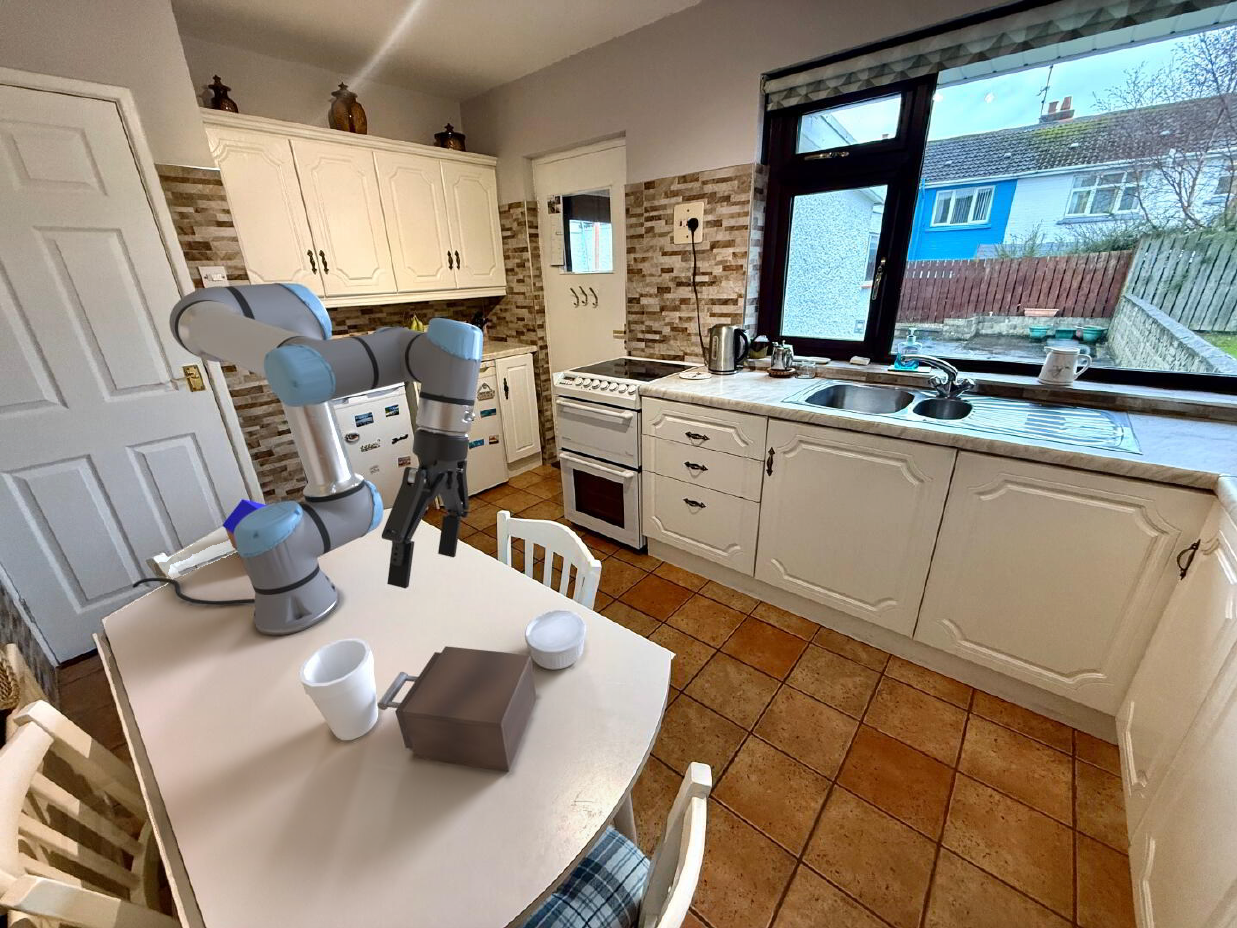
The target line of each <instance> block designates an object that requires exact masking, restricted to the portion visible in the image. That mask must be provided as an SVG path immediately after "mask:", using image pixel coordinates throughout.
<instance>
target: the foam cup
mask: <svg viewBox="0 0 1237 928" xmlns="http://www.w3.org/2000/svg"><path fill="white" fill-rule="evenodd" d="M374 663H375V658H374V655H373V652H372V649H371V647H370V645H369V643H368V641H366V640H363V639H360V638H358V637H356V638H355V637H354V638H351V637H350V638H342V639H338V640H335V641H331V642H329V643H327V644H325V645H323V646H321V647H320V648H319V649H317V650H315V651H314V652H313V653H312V654H311V655H310V656H308V657H307V658H306V659H305V660H304V661H303V664H302V665H301V668H300V670H299V672H298V674H299V678H300V682H301V684H302V687H303V689H304V691H305V694H306V695H308V696H309V697H310V699H311V700H312V702H313V703H314V706H316V708H317V710H318V711H319V713H320V714H321V716H322V718H323V719H324V720H325V722H326V723H327V725H328V726H329V728H330V730H331V732H332V733H333V735H334V736H335V737H336V738H337V739H339V740H340V741H341V740H342V741H352V740H355V739H358V738H360V737H362V736H364V735H365V734H367V733H368V732H370V731H371V730H372V729H373V727H374V726H375V725H376V723H377V721H378V718H379V707H378V706H377V704H378V696H377V688H376V678H375V669H374V665H375V664H374Z"/></svg>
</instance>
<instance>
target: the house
mask: <svg viewBox="0 0 1237 928" xmlns="http://www.w3.org/2000/svg"><path fill="white" fill-rule="evenodd" d="M266 505H267V504H265V503H260V502H256V501H252V500H248V499H244V498H242V499H241V500H240V501H239V502H238V504H237V505H236V507H235V508H234V509H233V511H232V512H231V513H230V514H229V515H228V517H227V518H226V520H224V522H223V524H222V526H221V527H223V528H224V529H225V531H226V535H227V536H228V539H229V541H230V544H231V547H232V548H233V549H234V550H236V551H237V546H236V542H235V538H234V530H235V528H236V526H237V525H238V524H239V522H240V521H241V520H242V519H243V518H244V517H246V516H247V515H248V514H250V513H252V512H253V511H255V510H257V509H259V508H261V507H264V506H266Z"/></svg>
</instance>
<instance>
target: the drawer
mask: <svg viewBox="0 0 1237 928" xmlns="http://www.w3.org/2000/svg"><path fill="white" fill-rule="evenodd" d="M440 654H441V652H438V651H435V652H434V653H432V655H431V657H430V659H429V660H428V662H427V663H426V664H425V666H424V668H423V669H422V671H421V672H420V674H419V675H418V676H415V675H409V674H408V673H407V672H405V671H400V672H399V674H398V675H397V676H396V677H395V679H394V680H393V681H392V683H391V684H390V685H389V687H388V688H387V690H386V691H385V692H384V694H383V695H382V697H381V698H380V700H378V701H377V706H378V709H380V710H382V711H386V710H387V709H388V708H391V709H395V711H394V712H395V714H396V720H397V722H398V726H399V730H400V733H401V736H402V740H403V743H404V747H405V749H406V750H407V749H408V750H413V748H412V744H411V741H410V737H409V733H408V730H407V726H406V723H405V719H404V715H403V710H404V709H405V707H406V706H407V704H408V703H409V701H410V700H411V698H412V696H413V695H414V693H415V692H416V690H417V689H418V687H419V686H420V684H421V683H422V681H423V680H424V678H425V677H426V675H427V674H428V672H429V671H430V669H431V668H432V666H433V665H434V663H435V661H436V660H437V658H438V657H439V655H440ZM406 682H413V684H412V685H411V687H410V688H409V690H408V691H407V693H405V696H404V697H403V698H402V700H401V701H400V702H398V701H394V699H395V698H396V697H397V695H398V694H399V692H400V690H401V689H402V688H403V686H404V685H405V684H406Z"/></svg>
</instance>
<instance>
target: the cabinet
mask: <svg viewBox="0 0 1237 928" xmlns="http://www.w3.org/2000/svg"><path fill="white" fill-rule="evenodd" d="M440 653H441V654H440V655H439V657H438V658H437V660H436V661H435V663H434V665H433V666H432V668H431V669H430V671H429V672H428V674H427V675H426V677H425V678H424V680H423V681H422V683H421V684H420V686H419V687H418V689H417V690H416V692H415V693H414V695H413V696H412V698H411V700H410V701H409V703H408V704H407V706H406V707H405V709H404V710H403V715H404V719H405V723H406V726H407V730H408V733H409V737H410V741H411V744H412V748H413V749H412V752H413V754H414V758H415V759H418V760H426V761H432V762H433V761H434V762H440V763H446V764H454V765H459V766H467V767H473V768H474V767H476V768H482V769H488V770H496V771H502V772H510V769H511V767H512V765H513V762H514V759H515V756H516V754H517V751H518V749H519V746H520V743H521V740H522V738H523V735H524V732H525V730H526V727H527V725H528V722H529V719H530V716H531V714H532V712H533V709H534V706H535V704H536V700H537V695H536V694H537V693H536V686H535V685H536V684H535V678H534V671H533V663H532V655H531V654H525V653H524V654H523V653H515V652H507V651H495V650H487V649H477V648H468V647H467V648H466V647H458V646H447V645H445V646H444V648H443V649H442V651H441V652H440Z"/></svg>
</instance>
